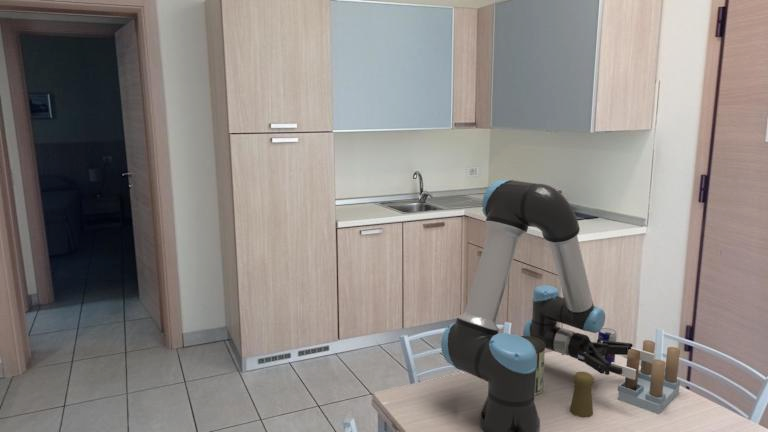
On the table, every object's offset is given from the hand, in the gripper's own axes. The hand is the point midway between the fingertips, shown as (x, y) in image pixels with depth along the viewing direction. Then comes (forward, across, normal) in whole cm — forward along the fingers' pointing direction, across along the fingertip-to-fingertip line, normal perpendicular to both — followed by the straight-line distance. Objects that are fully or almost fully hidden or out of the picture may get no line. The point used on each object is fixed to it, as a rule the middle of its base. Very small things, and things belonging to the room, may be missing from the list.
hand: (645, 366), depth 156 cm
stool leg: (-3, 0, -8) cm, 9 cm away
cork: (-10, +16, -11) cm, 22 cm away
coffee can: (-28, +15, -11) cm, 34 cm away
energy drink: (-17, -15, -11) cm, 25 cm away
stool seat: (0, -6, -11) cm, 12 cm away
